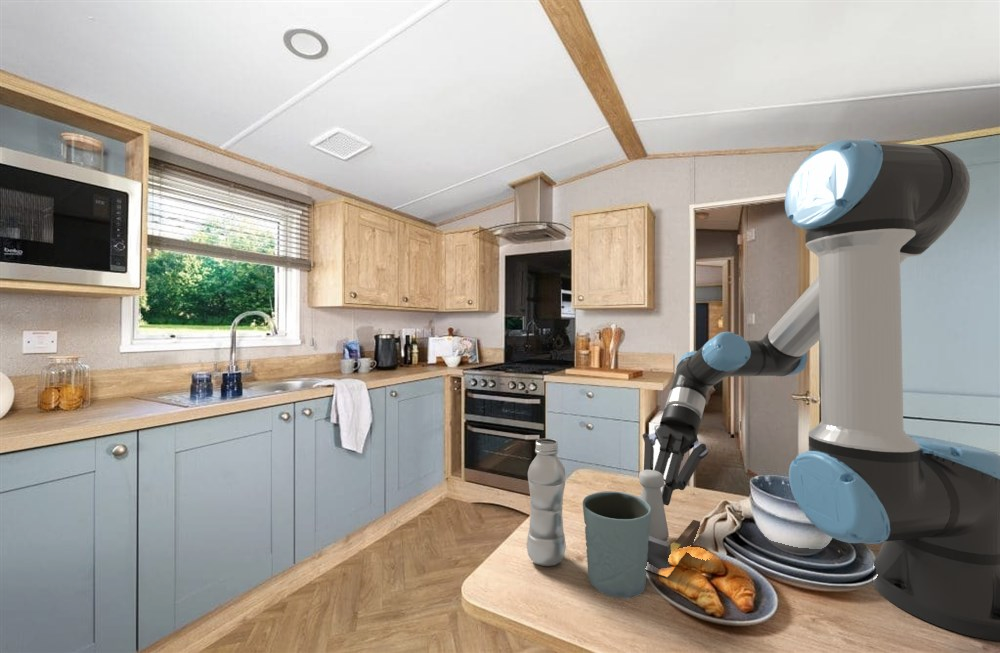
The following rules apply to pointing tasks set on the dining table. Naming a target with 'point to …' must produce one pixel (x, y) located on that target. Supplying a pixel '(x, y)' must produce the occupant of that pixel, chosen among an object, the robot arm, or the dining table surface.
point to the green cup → (617, 542)
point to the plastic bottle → (546, 505)
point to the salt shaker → (654, 502)
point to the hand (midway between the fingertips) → (652, 518)
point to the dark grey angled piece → (670, 546)
